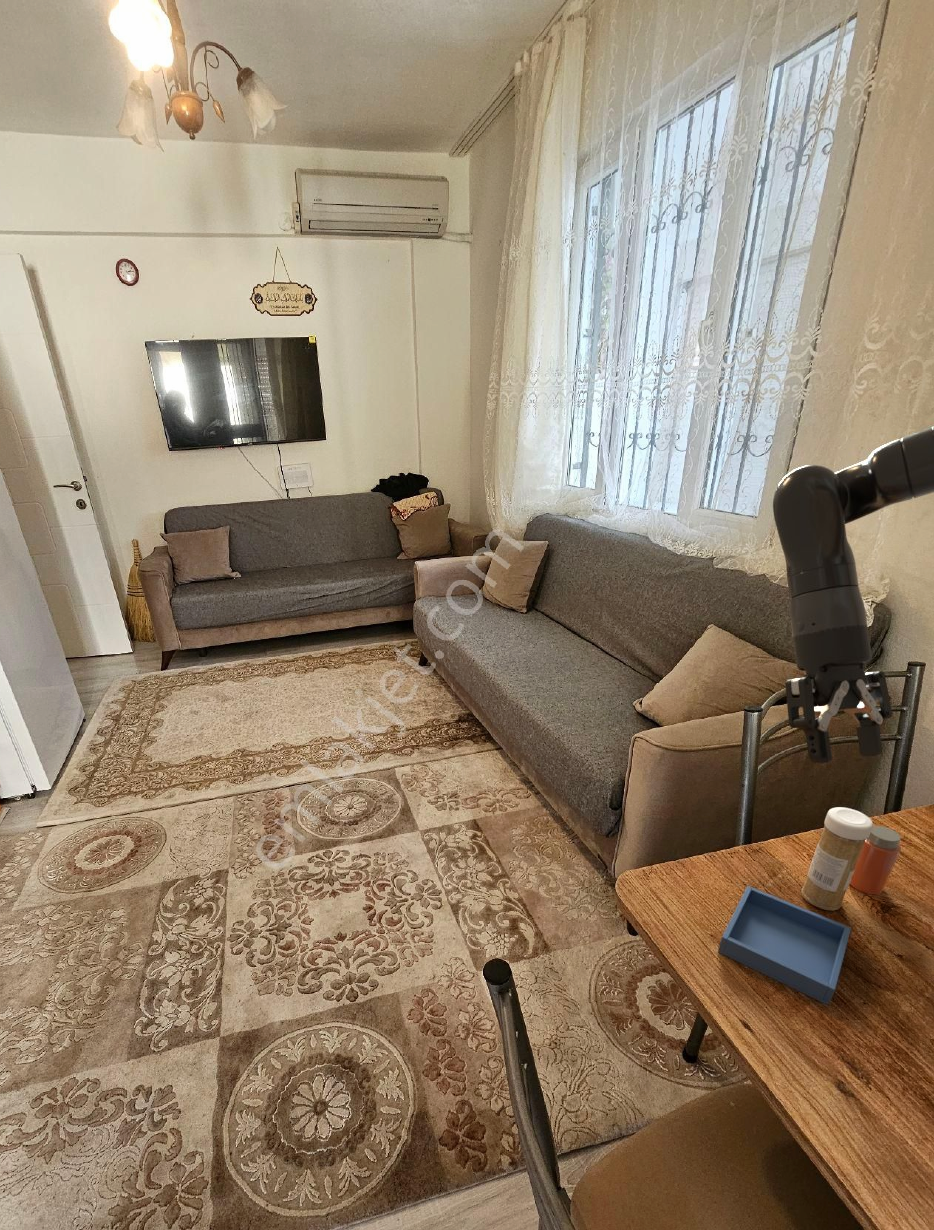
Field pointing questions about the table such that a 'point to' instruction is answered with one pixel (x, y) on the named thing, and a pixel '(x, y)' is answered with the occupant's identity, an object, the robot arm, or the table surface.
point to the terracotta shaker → (876, 860)
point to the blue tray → (786, 943)
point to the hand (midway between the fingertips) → (847, 759)
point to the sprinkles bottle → (836, 857)
